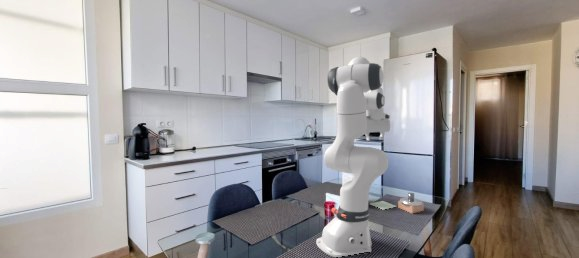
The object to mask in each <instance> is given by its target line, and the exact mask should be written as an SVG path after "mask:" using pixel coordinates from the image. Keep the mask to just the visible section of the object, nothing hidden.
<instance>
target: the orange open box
mask: <svg viewBox="0 0 579 258" xmlns="http://www.w3.org/2000/svg"><path fill="white" fill-rule="evenodd" d="M398 208H400V209H399V210H401V209H402V210H401V211H403V210H405V211H404V212H406V211H407V212H406V213H408V212H409V214H411V215H413V213H414V214H418V213H422V212H425V203H423V202H422V205H421V206H409V205H405V204H402V203H401V202H400V200H398V201H397V209H398ZM421 211H422V212H421Z"/></svg>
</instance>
